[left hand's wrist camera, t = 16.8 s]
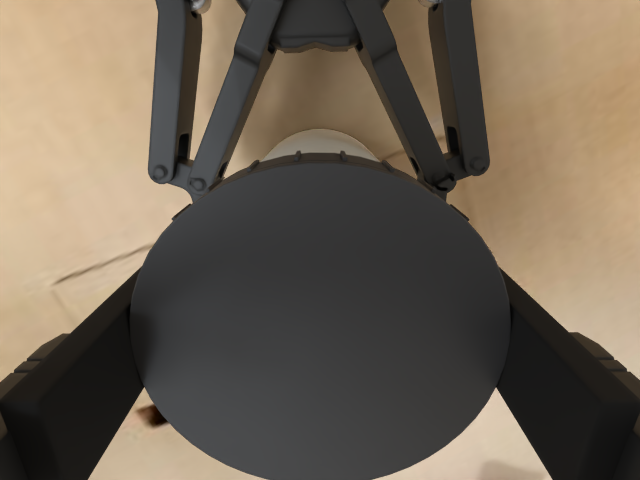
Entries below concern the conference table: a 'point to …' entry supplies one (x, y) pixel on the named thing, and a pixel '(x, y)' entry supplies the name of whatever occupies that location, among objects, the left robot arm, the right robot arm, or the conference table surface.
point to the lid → (320, 320)
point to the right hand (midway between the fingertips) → (322, 297)
